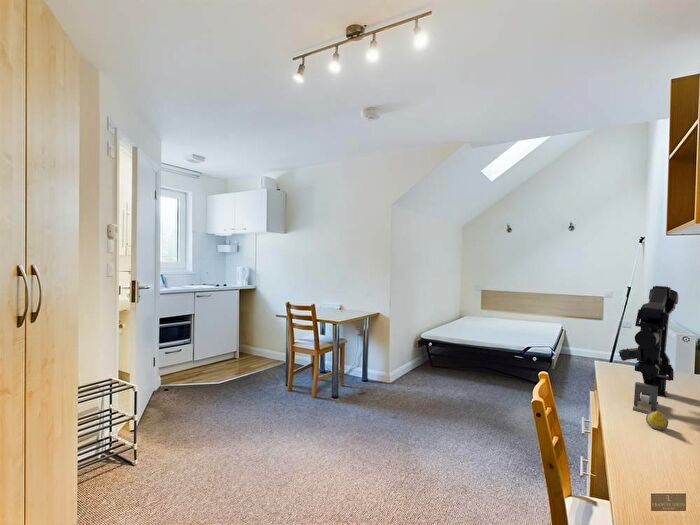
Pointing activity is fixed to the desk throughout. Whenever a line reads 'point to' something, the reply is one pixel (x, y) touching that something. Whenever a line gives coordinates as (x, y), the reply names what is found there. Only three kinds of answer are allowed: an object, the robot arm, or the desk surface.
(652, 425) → the yellow cone
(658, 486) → the desk surface
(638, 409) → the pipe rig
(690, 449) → the desk surface
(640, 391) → the collar
